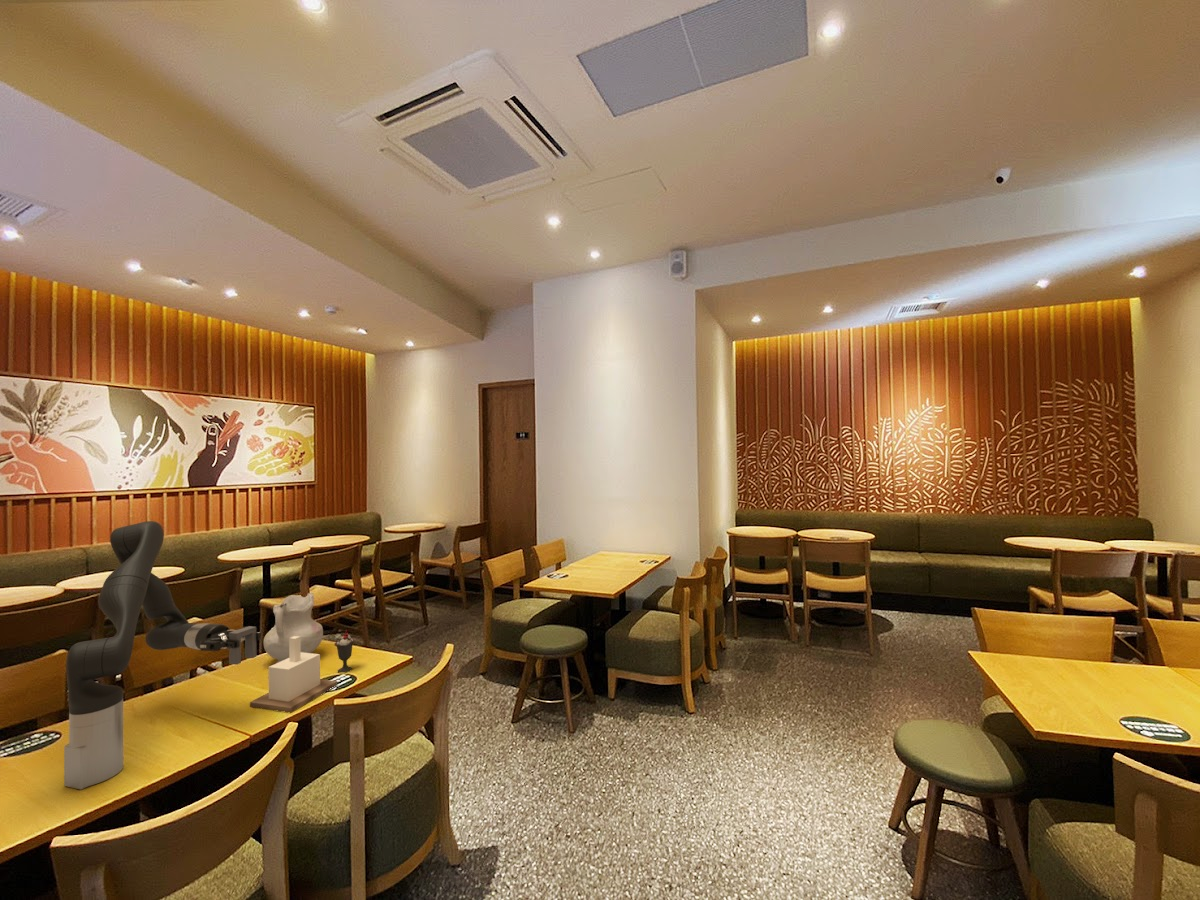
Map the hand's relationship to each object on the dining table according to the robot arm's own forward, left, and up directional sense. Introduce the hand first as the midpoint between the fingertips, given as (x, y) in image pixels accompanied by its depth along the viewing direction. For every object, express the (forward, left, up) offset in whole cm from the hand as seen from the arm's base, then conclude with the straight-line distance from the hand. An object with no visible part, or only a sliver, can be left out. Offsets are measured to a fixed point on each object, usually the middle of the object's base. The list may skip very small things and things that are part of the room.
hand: (249, 640), depth 143 cm
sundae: (+35, -1, -24) cm, 42 cm away
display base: (+15, 0, -24) cm, 28 cm away
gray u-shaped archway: (0, +2, -6) cm, 6 cm away
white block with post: (+15, 0, -22) cm, 27 cm away
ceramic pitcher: (+37, +25, -24) cm, 50 cm away
